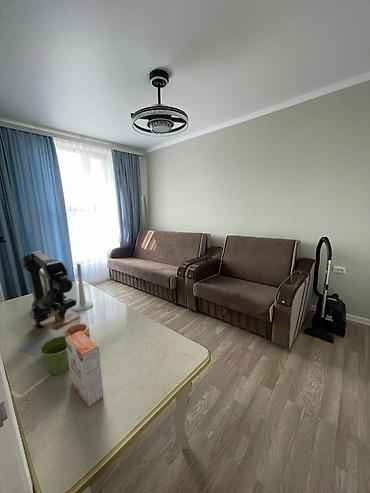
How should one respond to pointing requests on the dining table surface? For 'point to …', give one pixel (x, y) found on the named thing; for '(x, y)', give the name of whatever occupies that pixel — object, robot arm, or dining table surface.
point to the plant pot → (56, 354)
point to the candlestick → (81, 295)
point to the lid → (59, 320)
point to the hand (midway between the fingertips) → (60, 317)
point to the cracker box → (84, 367)
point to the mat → (35, 345)
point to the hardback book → (44, 281)
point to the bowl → (77, 329)
